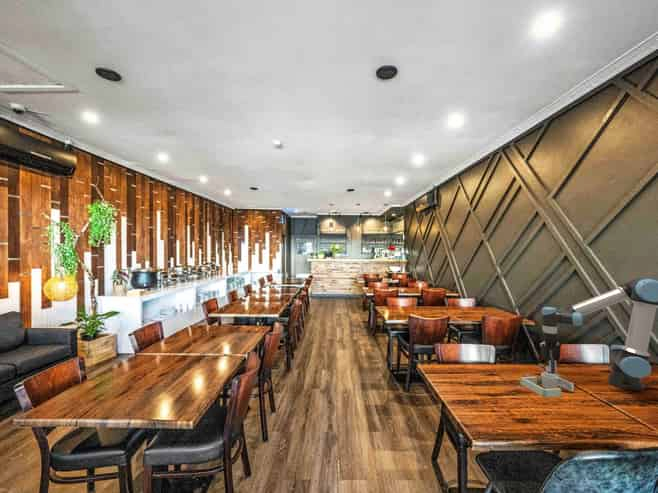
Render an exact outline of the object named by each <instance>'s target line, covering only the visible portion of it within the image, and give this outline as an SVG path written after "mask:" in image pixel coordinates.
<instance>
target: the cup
mask: <svg viewBox="0 0 658 493" xmlns="http://www.w3.org/2000/svg"><path fill="white" fill-rule="evenodd" d="M540 377H541V378H542V384H541V385H542V388H543V389H555V388H558V387H561V385H562V383H563V381H562V379H561V378H559V377H558V376H556V375H554V374H551V373H542V372H541V373H540ZM559 379H560V384H558V380H559Z"/></svg>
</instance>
